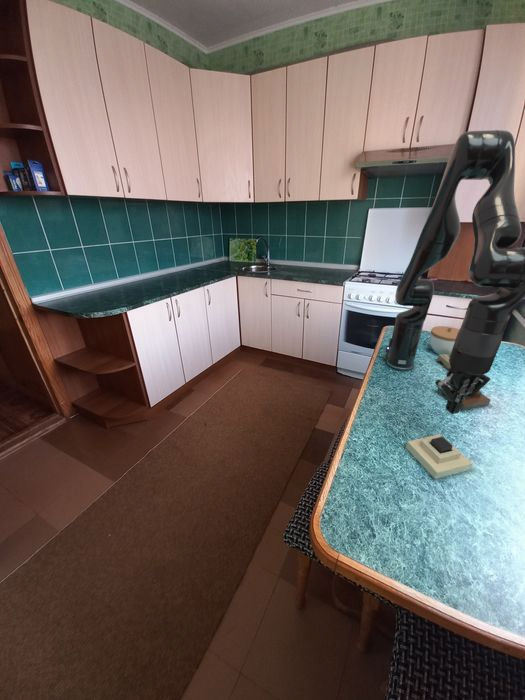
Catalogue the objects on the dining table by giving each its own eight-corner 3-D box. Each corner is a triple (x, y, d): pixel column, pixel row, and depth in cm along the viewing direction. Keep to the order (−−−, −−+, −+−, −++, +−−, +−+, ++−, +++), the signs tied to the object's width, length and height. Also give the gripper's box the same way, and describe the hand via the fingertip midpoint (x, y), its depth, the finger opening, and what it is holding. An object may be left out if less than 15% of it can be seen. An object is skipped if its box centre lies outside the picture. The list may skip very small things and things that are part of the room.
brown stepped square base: (436, 392, 96) (439, 382, 94) (461, 387, 98) (465, 377, 97) (462, 410, 88) (466, 400, 86) (488, 405, 90) (493, 394, 88)
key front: (429, 444, 71) (431, 438, 71) (440, 441, 72) (442, 436, 71) (439, 453, 69) (441, 448, 68) (451, 451, 69) (453, 445, 69)
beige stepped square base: (405, 447, 75) (408, 435, 73) (437, 439, 77) (441, 428, 76) (434, 479, 67) (439, 467, 65) (470, 469, 69) (475, 457, 67)
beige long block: (485, 381, 101) (488, 373, 99) (462, 383, 101) (465, 375, 99) (455, 360, 115) (458, 352, 113) (436, 361, 115) (438, 353, 113)
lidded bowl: (421, 344, 128) (427, 321, 122) (452, 345, 126) (460, 322, 121) (432, 358, 116) (439, 333, 111) (466, 359, 115) (475, 334, 110)
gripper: (484, 335, 65) (461, 397, 73) (435, 343, 63) (416, 406, 71) (518, 351, 59) (488, 416, 67) (464, 360, 56) (440, 427, 64)
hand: (451, 411), depth 69 cm, fingers closed
